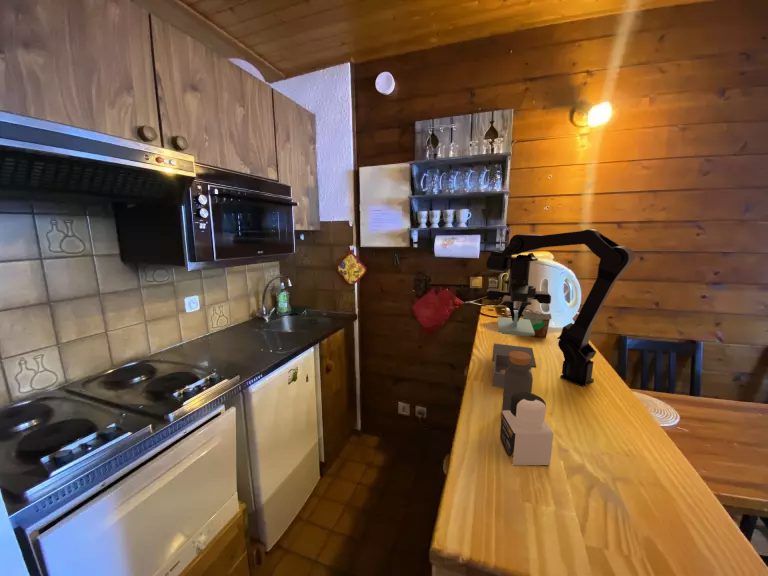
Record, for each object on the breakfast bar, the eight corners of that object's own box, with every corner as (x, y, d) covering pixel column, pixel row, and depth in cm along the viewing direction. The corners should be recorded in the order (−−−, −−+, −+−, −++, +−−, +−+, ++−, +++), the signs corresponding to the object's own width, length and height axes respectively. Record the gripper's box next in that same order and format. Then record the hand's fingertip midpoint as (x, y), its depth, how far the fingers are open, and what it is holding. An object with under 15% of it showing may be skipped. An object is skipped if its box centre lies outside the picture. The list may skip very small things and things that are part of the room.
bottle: (501, 418, 73) (506, 358, 70) (501, 405, 78) (506, 348, 75) (529, 423, 71) (535, 361, 68) (527, 409, 76) (532, 351, 73)
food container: (513, 331, 133) (515, 308, 131) (524, 329, 135) (526, 306, 133) (538, 340, 122) (541, 316, 120) (549, 338, 124) (552, 314, 122)
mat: (494, 344, 118) (494, 343, 118) (532, 349, 113) (532, 347, 113) (492, 361, 103) (492, 360, 103) (536, 367, 99) (536, 366, 99)
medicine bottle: (499, 440, 65) (503, 387, 63) (533, 441, 65) (539, 388, 63) (511, 466, 58) (516, 407, 56) (550, 466, 58) (557, 408, 56)
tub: (493, 365, 100) (494, 353, 100) (528, 370, 97) (529, 358, 96) (492, 385, 88) (493, 372, 87) (531, 392, 84) (532, 378, 83)
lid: (497, 321, 112) (498, 306, 111) (529, 324, 108) (530, 308, 107) (498, 334, 98) (499, 317, 97) (534, 338, 95) (536, 320, 94)
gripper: (488, 276, 95) (484, 325, 98) (556, 280, 89) (551, 332, 92) (488, 271, 106) (485, 315, 109) (550, 274, 100) (545, 321, 103)
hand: (515, 321), depth 103 cm, fingers closed on lid
